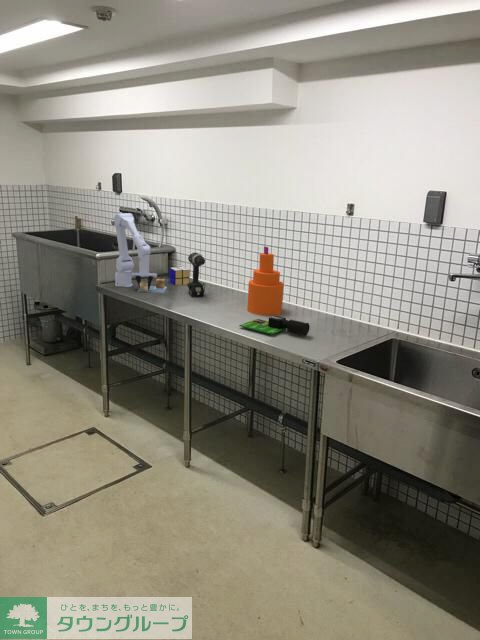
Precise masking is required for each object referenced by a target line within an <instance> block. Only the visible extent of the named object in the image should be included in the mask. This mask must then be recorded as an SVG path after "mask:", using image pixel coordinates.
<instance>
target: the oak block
mask: <svg viewBox="0 0 480 640" xmlns="http://www.w3.org/2000/svg"><path fill="white" fill-rule="evenodd" d="M165 284H166V283H165V278H156V279H155V286H156V288H158V289H164V287H166V285H165Z"/></svg>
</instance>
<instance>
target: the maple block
mask: <svg viewBox="0 0 480 640" xmlns="http://www.w3.org/2000/svg"><path fill="white" fill-rule="evenodd" d="M148 290H149V289H148V280H141V282H140V291H148Z"/></svg>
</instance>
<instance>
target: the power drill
mask: <svg viewBox="0 0 480 640" xmlns="http://www.w3.org/2000/svg"><path fill="white" fill-rule="evenodd" d="M202 255H203V254H200V253H198V252H192V253H190V254H189V255H188V258H187V260H188V262H189V263H191V265H192V281H191V282H190V283H187V284H186V286H187V288H188V294H189V295H190V296H191V297H192V298H193V297H195V298H197V297H199V298H200V297H204V296H205V293H206V291H205V289H206V288H205V286H206V284H205V283H204V282H201V281H199V275H200V267H202V266H203V265H205V264H206V259H205V257H204V256H202Z"/></svg>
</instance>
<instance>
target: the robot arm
mask: <svg viewBox="0 0 480 640" xmlns="http://www.w3.org/2000/svg"><path fill="white" fill-rule="evenodd" d="M113 221H114V222H113V223H114V228H115V231H116V239H117V245H118V247H117V248H118V254H119V255H118V256H119V257H117V258H116V259H115V262H116V263H115V268H116V270H117V271H115V274H114V278H115V279H114V280H115V282H114V283H115V287H126V288H127V287H128V288H129V287H130V288H131V287H132V286H133V285H134V284H133V283H132V277H135V281H136V282H137V284H138V289H140V282H141V281H142V277H144V278H147V281H148V289H150V286H151V284H152V281H153V279H154V278H157V277H158V274H157V273H153V272H152V273H151V272H150V255H151V253H152V247H151V246H150V245H149V244H148V243H146V241H145V239H144V237H143V236H142V234H139V231H138V229H137V227H136V225H135V217H134V215H133V213H131V212H128V213H127V212H125V213H124V212H123V213H115V215H114V217H113ZM126 229H128V231H129V232H130V234H131V236H132V241H133V243H134V245H135V247H136V248H137V249H136V252H137V256H138V257H137V258H138V261H139V262H138V263H139V264H138V265H139V269H138V270H139V271H138V272H133V270H134V269H135V264H134V261H133V258H132V257H131V256H130V255H129V249H128V240H127V234H126V232H127V231H126Z"/></svg>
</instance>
